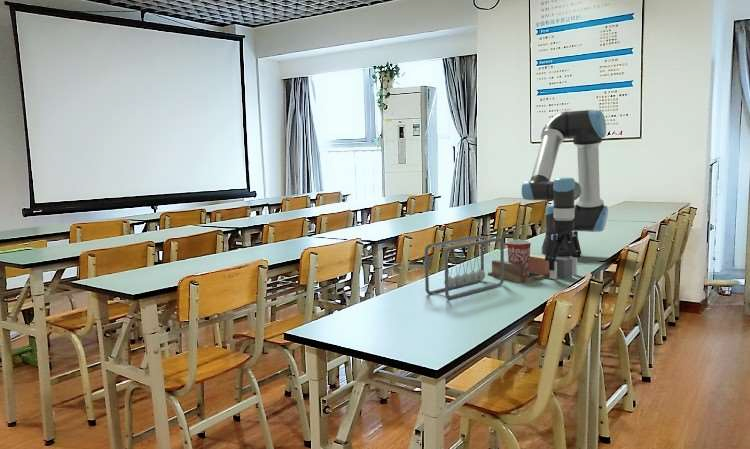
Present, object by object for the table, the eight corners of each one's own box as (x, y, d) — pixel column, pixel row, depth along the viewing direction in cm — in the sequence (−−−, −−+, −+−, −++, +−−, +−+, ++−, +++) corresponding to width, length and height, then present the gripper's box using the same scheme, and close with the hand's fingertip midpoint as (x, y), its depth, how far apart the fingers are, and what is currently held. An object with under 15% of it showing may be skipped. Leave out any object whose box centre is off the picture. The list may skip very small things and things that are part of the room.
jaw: (521, 268, 241) (521, 252, 240) (550, 274, 229) (550, 257, 229) (516, 270, 239) (516, 254, 238) (545, 275, 228) (545, 258, 227)
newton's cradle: (447, 300, 197) (446, 248, 195) (425, 295, 205) (423, 244, 203) (504, 285, 216) (504, 236, 213) (482, 280, 224) (481, 234, 222)
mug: (524, 280, 223) (524, 244, 221) (502, 277, 229) (502, 242, 227) (539, 273, 232) (539, 239, 230) (518, 271, 238) (518, 238, 236)
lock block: (562, 275, 229) (562, 257, 228) (571, 277, 225) (572, 258, 224) (554, 276, 226) (554, 258, 225) (564, 278, 222) (564, 260, 221)
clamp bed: (537, 264, 249) (537, 250, 249) (573, 271, 234) (573, 256, 234) (488, 275, 233) (487, 260, 232) (524, 282, 218) (524, 266, 217)
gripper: (575, 215, 232) (574, 270, 235) (534, 221, 219) (534, 279, 222) (591, 216, 226) (591, 273, 229) (551, 223, 213) (551, 282, 216)
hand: (563, 276), depth 225 cm, fingers open, 11 cm apart
